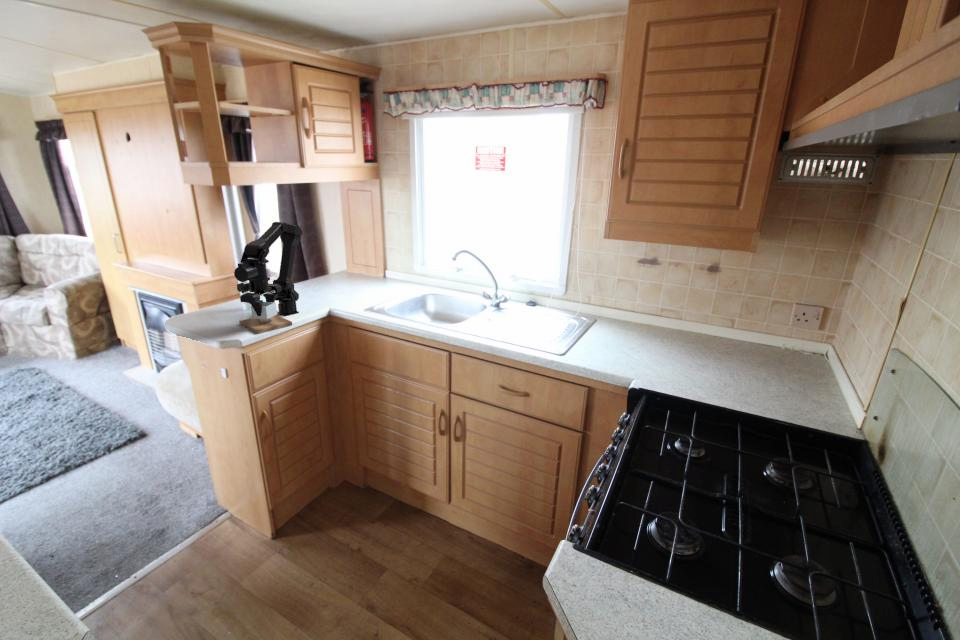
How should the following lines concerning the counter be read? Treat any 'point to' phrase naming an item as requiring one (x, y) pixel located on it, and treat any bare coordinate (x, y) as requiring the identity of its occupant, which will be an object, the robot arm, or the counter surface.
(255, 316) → the duct collar
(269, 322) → the board
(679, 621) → the counter surface
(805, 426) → the counter surface
